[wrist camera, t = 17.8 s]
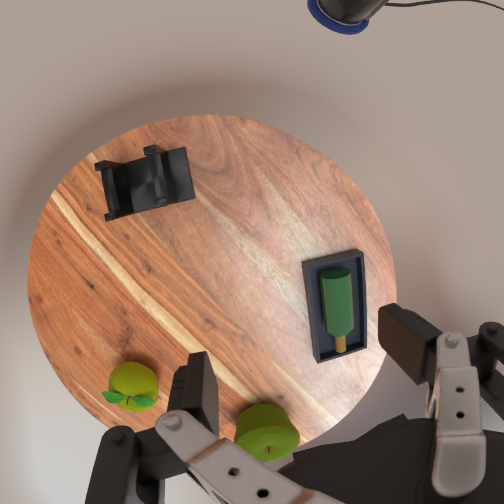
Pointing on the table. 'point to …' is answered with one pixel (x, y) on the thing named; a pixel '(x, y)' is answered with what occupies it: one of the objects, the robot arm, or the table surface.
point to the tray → (320, 337)
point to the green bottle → (337, 304)
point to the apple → (266, 433)
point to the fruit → (132, 387)
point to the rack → (146, 182)
